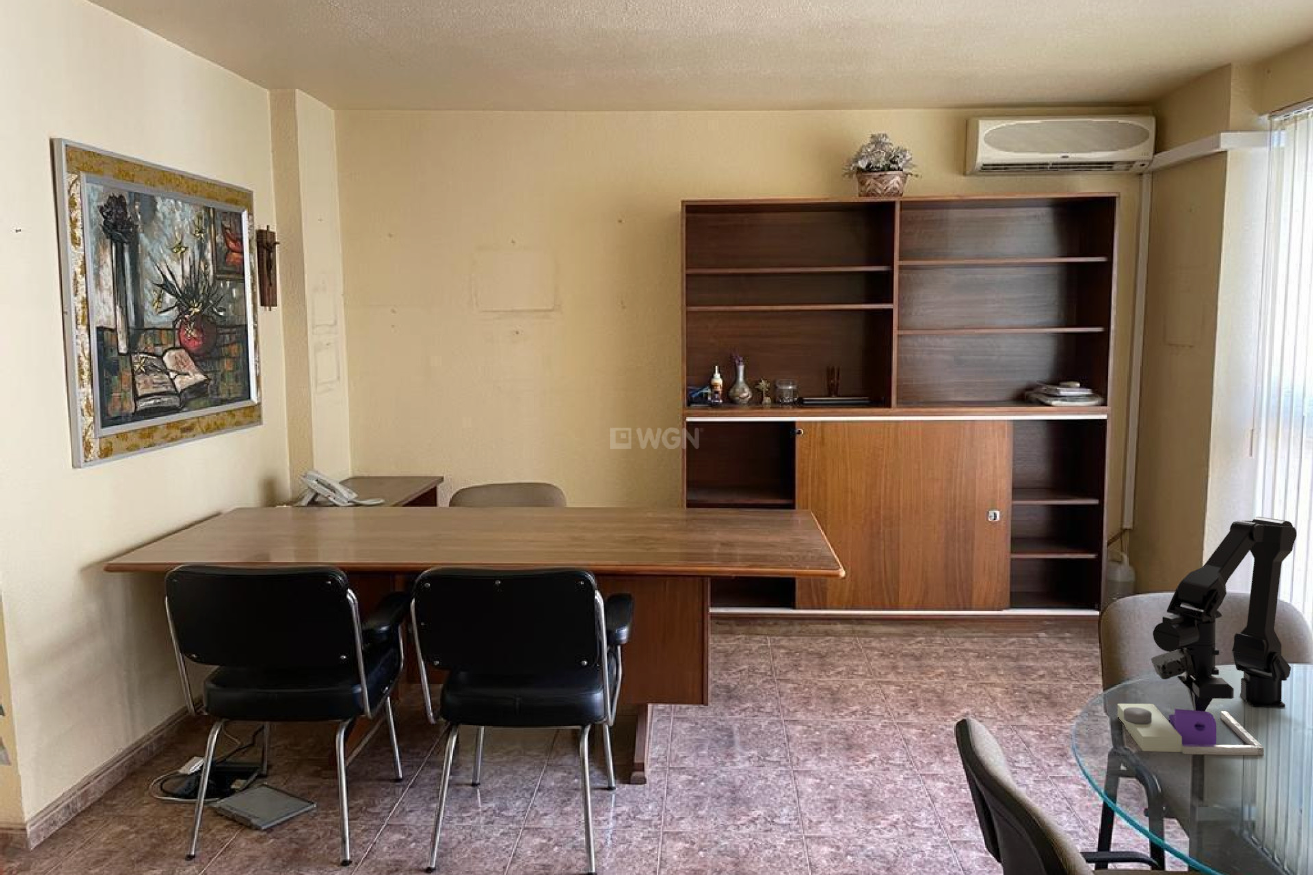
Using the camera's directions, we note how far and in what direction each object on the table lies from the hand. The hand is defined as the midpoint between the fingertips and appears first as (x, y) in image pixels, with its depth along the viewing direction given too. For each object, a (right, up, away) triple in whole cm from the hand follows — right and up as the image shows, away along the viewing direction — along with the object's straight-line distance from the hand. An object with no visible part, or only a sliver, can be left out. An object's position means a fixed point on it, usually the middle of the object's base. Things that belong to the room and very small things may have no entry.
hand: (1198, 715), depth 195 cm
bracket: (-3, -3, -3) cm, 6 cm away
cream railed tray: (-5, -3, -4) cm, 7 cm away
